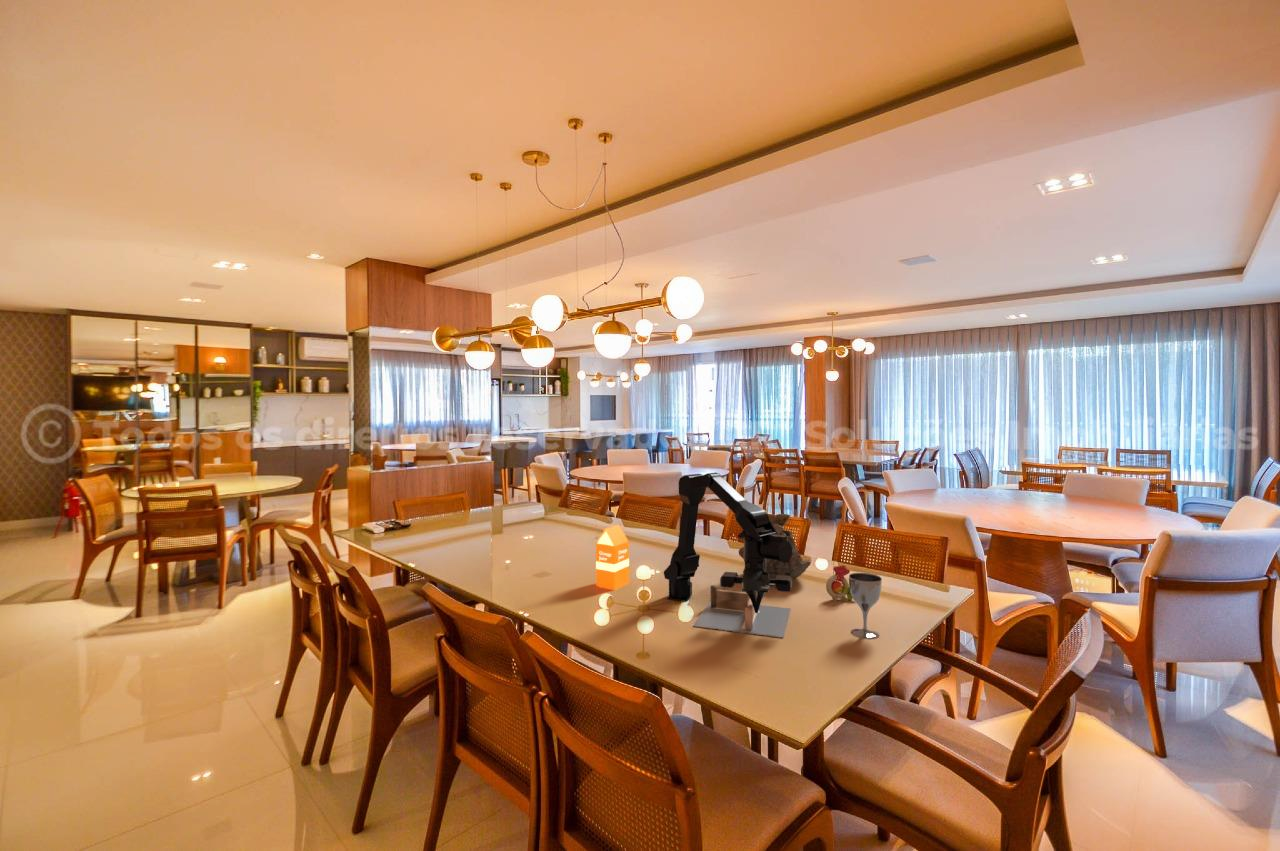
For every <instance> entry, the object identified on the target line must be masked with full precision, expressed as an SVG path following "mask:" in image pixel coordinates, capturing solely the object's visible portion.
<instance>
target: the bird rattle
mask: <svg viewBox="0 0 1280 851" xmlns="http://www.w3.org/2000/svg"><path fill="white" fill-rule="evenodd" d="M833 571H834V574H832V575H831V576H830V577H829V578H828V579H827V581H826V584H825V588H826V591H827V594H829V596H830V597H831V599H832V600H833V601H836V600H838V599H842V598H844V597H845V596H846V598H847V599H848V601H852V600H854V599H853V598H852V596H851V592H850V587H849V581H848V579H847V578H846V577H845V576H847V575H848V574H849V575H850V574H851V573H850V572H851V570H850V569H847V566H846V565H835V566H834V567H833Z"/></svg>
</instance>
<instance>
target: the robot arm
mask: <svg viewBox="0 0 1280 851" xmlns="http://www.w3.org/2000/svg"><path fill="white" fill-rule="evenodd" d="M707 489H709V490H710V491H711V492H712V493H713V494H714V495H715V496H716V497H717V498H718V499H719V500H720V501H722V502H723V504H724V505H725V506H727V507H728V509H730V510H731V512H732V513H733V514H734V518H735V521H736V523H737V524H738V525H739V527H740V528H741V529H742V530H741V532H740V533H739V534H738V535H737V538H739V539H742V540H743V541H744V542H743V547H744V552H745V562H744V568H743V572H742V576H738V574H739V573H738V572H733V571H725V572H724V573H723V574H722V575H721V576H720V580H719V582H720V583H719V585H720V587H721V588H728V589H731V588H733V587H734V585H735V584H736V585H737V584H739V585H740V584H741V585H742V588H741V592H746V593H747V594H748V598H749V600H750V599H751V602H752V605H753V607H754V610H755V613H758V611H759V607H760V605H762V604H761V603H762V601H763V600H762V599H763V598H764V595H765V594H768V593H769V591H770V590H771V587H774V588H775V589H776V591H777V592H784V593H786V592H787V593H789V592H791V590H792V588H793V580H792V578H791V577H790V576H784V575H777V576H776V579H770V575H769V572H766V559H769V560H774V561H778V562H783V563H786V562H788V561H789V560H790V558H791V556H792V547H791V544H790V542H789V541H787V536H784V535H781V536H780V535H777V532H776V530H775V528H774V526H773V525H772V523H771V521H770V519H769V518H768V517H769V516H768V515H769V514H768V512H767V511H766V510H765V509H763V508H762V507H761V506H759V505H757V504H754V503H752V502H749V501H747V499H745V498H744V497H743V496H742V495H741V494H740V493H739V492H738V491H737V490H736V489H734V488H733V487H732V485H731V484H729V483H728V482H727V481H726V480H725V479H724V478H723V477H722V475H721V473H718V472H709V473H705V474H702V473H693V474H685V475H682V476H681V477H679V480H678V496H679V497H680V500H681V502H682V503H681V506H682V507H681V513H680V514H681V515H680V522H679V532H678V543H677V547H676V548H675V550H674V551H673V553H672V555H671V557H670V558H671V559H670V563H669V565H668V566H667V567H666V568H665V569H664V571H663V575H664V579H665V580H667V581H668V596H667V598H666V599H667V600H676V601H685V602H688V600H690V599H691V597H692V596H693V582H692V581H691V578H693V577H695V574H696V571H697V570H698V568H699V567H700V564H699V563H700V558H701V556H700V554H698V553H697V552H696V549H695V548H694V547H695V541H696V540H695V538H696V532H697V531H696V530H697V523H698V522H697V521H698V514H699V505H700V503H701V501H702V499H703V498H704V496H705V495H706V490H707ZM763 529H765V530H764V531H759V530H763ZM757 531H759V532H757ZM756 591H757V596H756Z"/></svg>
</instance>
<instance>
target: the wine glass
mask: <svg viewBox="0 0 1280 851" xmlns="http://www.w3.org/2000/svg"><path fill="white" fill-rule="evenodd" d="M848 577H849V578H848V584H849V587H850V592H851V596H852V598H853V599H852V600H853V601H854V602H855V603H856V605H858V607H859V608H860V609H861V613H862V620H863V627H856V628H853V629H851V630H850V634H851V635H853V636H855V637H856V638H860V639H865V640H875V639H878V638H880V633H879V632H877V631H876V630H874V629H870V628H867V627H868V626H867V624H868V623H867V621H868V615H869V612H870V610H871V609H872V607H873V606H874V605H875V604H877V602H878V601H879V600H880V598H881V593H882V577H881V576H880V575H878V574H873V573H870V572H869V573H868V572H852V573H849V575H848Z"/></svg>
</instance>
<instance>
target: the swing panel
mask: <svg viewBox="0 0 1280 851" xmlns="http://www.w3.org/2000/svg"><path fill="white" fill-rule="evenodd" d="M754 614H755V610H754V607H753V605H752V602H751V599H750V598H749V599H748V607H746V608H745V628H746V629H753V618H754Z"/></svg>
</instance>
